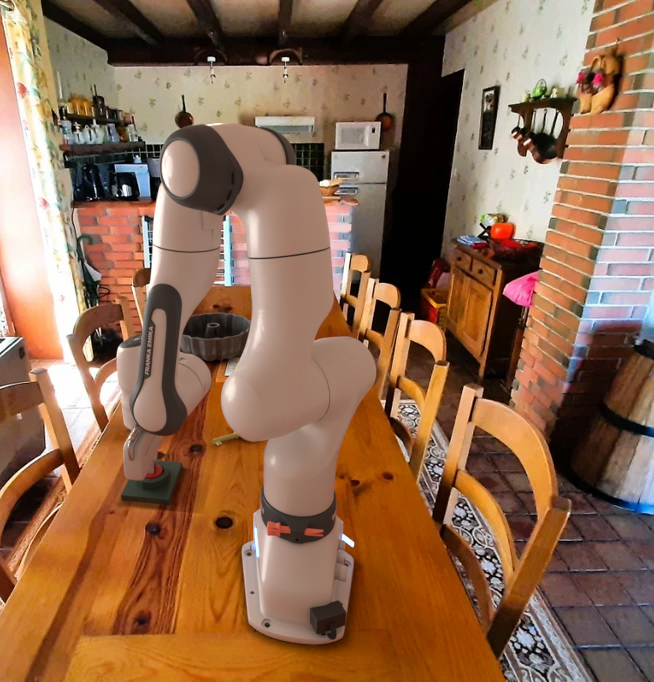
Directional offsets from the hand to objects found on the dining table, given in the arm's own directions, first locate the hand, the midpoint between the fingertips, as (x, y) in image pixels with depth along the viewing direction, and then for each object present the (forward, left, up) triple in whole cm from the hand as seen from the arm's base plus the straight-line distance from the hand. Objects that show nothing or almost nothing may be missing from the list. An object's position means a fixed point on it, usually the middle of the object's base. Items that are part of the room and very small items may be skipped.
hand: (151, 469), depth 101 cm
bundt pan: (+71, -1, -4) cm, 71 cm away
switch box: (0, 0, -4) cm, 4 cm away
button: (0, 0, -2) cm, 2 cm away
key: (+20, -15, -5) cm, 25 cm away
